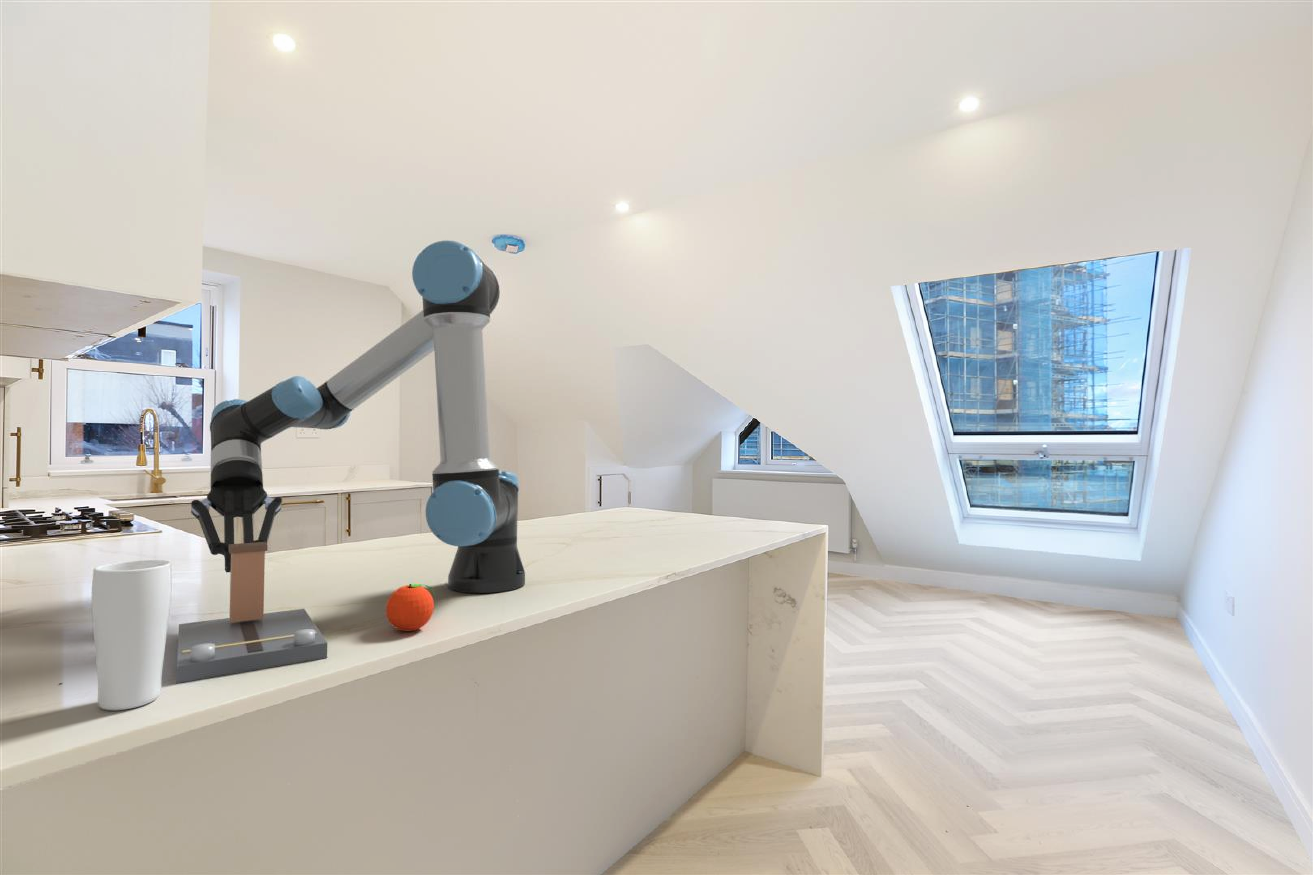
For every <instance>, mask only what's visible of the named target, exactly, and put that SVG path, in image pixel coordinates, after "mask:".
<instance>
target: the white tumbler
mask: <svg viewBox="0 0 1313 875" xmlns="http://www.w3.org/2000/svg"><path fill="white" fill-rule="evenodd" d="M172 570H173V569H172V562H171V561H169V560H163V559H142V560H141V559H140V560H129V561H120V562H114V563H108V564H107V563H106V564H102V565H99V566H96V567H95V568H93V570H92V581H91V618H92V630H93V638H94V639H93V641H94V650H95V651H94V652H95V662H96V663H95V664H96V676H97V677H96V678H97V704H98V707H99V708H101V709H102V710H105V711H123V710H125V711H126V710H130V709H134V708H138V707H143V706H145V705H147V704H151V702H153V701H155V700H157V699H158V698H159V697H160V695H161V692H162V684H163V683H162V676H163V668H164V659H165V651H166V643H167V635H168V627H169V621H170V613H171V605H172V590H173V580H172V579H173V574H172Z"/></svg>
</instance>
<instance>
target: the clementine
mask: <svg viewBox="0 0 1313 875" xmlns="http://www.w3.org/2000/svg"><path fill="white" fill-rule="evenodd" d="M424 586H425V587H427V588H428V589H430V590H431V591H432V593H433V595H434V596H436V594H435V590H434V589H433V588H432V587H431V586H429V585H426V584H423V583H421V584H420V583H413V584H412V583H409V584H406V585H402V586H400V587H399V588H397V589H396V590H395V591H393V593H391V594H390V596H389V598H388V600H387V602H386V607H385V615H386V619H387V621H388V622H389V624H391V626H393V628H395V629H397V630H399V631H403V632H413V631H416V630H419V629H421V628H423V627H424V626H425V625H427V623H428V622H429V621H430V620H431V619H432V616H433V614H434V609H435V606H434V605H435V604H434V598H433V596H432V594H431V592H429V590H427V589H426V588H424Z"/></svg>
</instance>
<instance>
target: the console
mask: <svg viewBox="0 0 1313 875" xmlns="http://www.w3.org/2000/svg"><path fill="white" fill-rule="evenodd" d="M177 636H178V637H177V639H178V640H177V657H176V658H177V659H176V661H177V662H176V684H180V683H186V682H191V681H198V680H203V679H209V678H216V677H221V676H227V675H234V674H240V673H245V672H250V671H257V670H258V671H259V670H263V669H270V668H275V667H280V666H287V665H292V664H298V663H303V662H310V661H317V660H321V659H322V660H323V659H327V658H328V641H327V640H326V638H325V637H324V635H323V634H322V632H321V631H320V630H319V628H318V627H317V626H316V624H315V622H314V621H313V619H312V617H310V615H309V614H308V612H307V610H306V609H305V608H299V609H298V608H297V609H290V610H283V611H282V610H281V611H274V612H266V613H265V612H264V613H263V619H257V620H249V621H241V622H233V623H231V622H230V617H227V618H218V619H217V618H216V619H211V620H202V621H201V620H200V621H194V622H186V623H178V635H177Z"/></svg>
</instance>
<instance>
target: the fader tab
mask: <svg viewBox="0 0 1313 875" xmlns="http://www.w3.org/2000/svg"><path fill="white" fill-rule="evenodd" d="M229 552H230V554H231V572H230V574H229V575H230V576H229V577H230V578H229V580H230V581H229V618H230V622H231V623H233V622H241V621H249V620H257V619H263V614H265V612H264V610H265V609H264V607H265V605H264V602H265V563H266V561H265V560H266V559H265V558H266V552H268V543H267V544H266V543H265V542H256V543H244V542H243V543H234V544H229Z"/></svg>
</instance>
